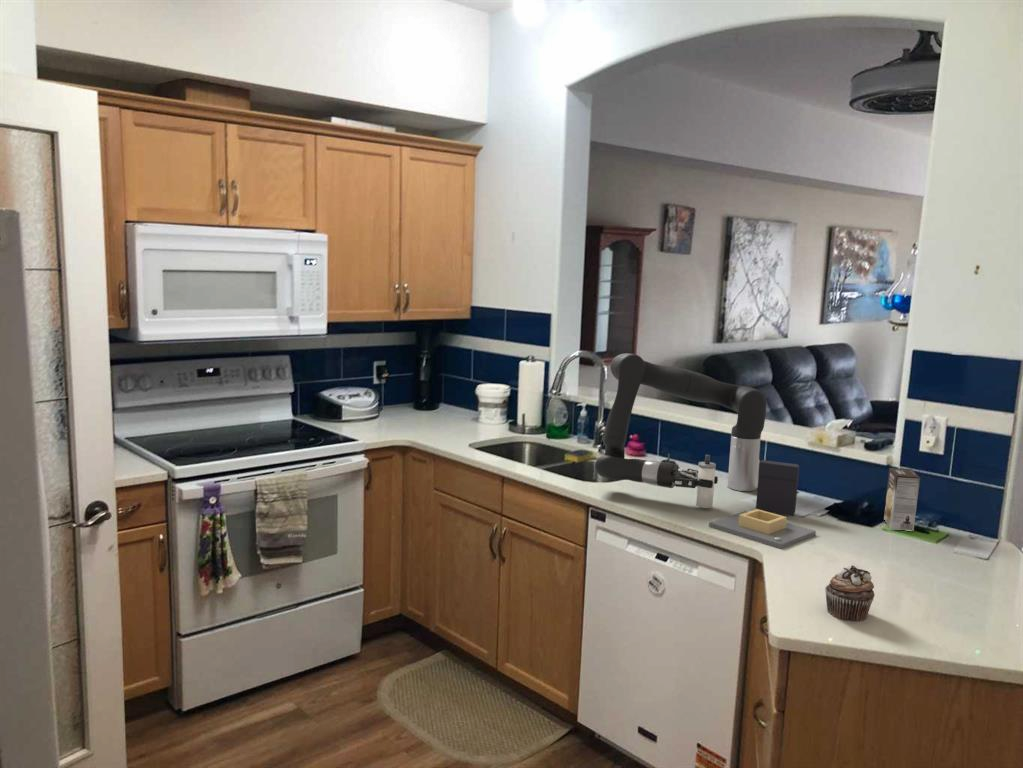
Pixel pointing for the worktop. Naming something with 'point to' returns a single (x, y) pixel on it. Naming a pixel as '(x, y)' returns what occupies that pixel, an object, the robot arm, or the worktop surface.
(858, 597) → the cupcake
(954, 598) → the worktop surface
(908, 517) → the coffee box
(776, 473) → the dark grey upright panel
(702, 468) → the white cylindrical bottle
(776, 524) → the socket dock
